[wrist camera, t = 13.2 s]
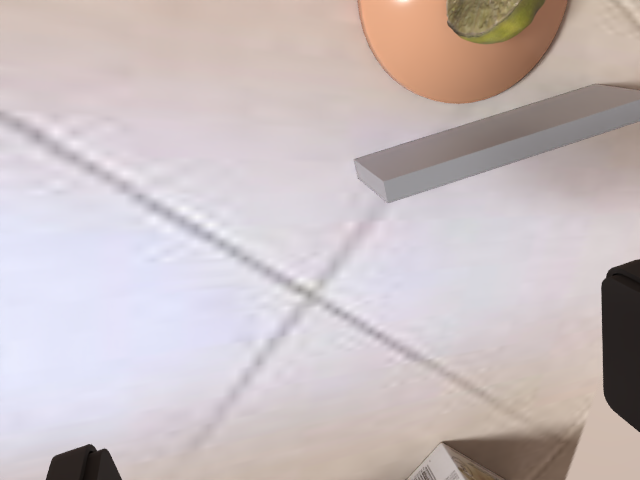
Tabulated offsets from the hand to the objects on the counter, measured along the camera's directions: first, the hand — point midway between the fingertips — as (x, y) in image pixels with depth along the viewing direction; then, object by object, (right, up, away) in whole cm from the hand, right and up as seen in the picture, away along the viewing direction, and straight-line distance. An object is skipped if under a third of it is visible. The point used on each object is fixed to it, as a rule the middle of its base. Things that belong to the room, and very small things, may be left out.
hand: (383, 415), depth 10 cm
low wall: (+9, +10, +23) cm, 27 cm away
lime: (+7, +16, +20) cm, 26 cm away
